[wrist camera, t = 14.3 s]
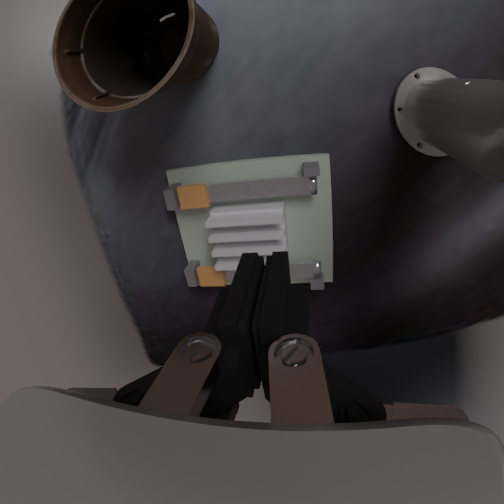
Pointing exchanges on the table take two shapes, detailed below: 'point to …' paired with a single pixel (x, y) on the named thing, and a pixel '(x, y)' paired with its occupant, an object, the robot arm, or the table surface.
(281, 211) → the cooler board
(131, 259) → the table surface
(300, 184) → the strap
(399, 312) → the table surface
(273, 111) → the table surface
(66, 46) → the plant pot
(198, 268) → the strap
